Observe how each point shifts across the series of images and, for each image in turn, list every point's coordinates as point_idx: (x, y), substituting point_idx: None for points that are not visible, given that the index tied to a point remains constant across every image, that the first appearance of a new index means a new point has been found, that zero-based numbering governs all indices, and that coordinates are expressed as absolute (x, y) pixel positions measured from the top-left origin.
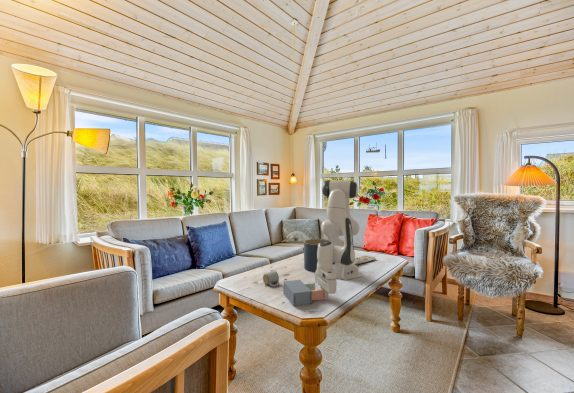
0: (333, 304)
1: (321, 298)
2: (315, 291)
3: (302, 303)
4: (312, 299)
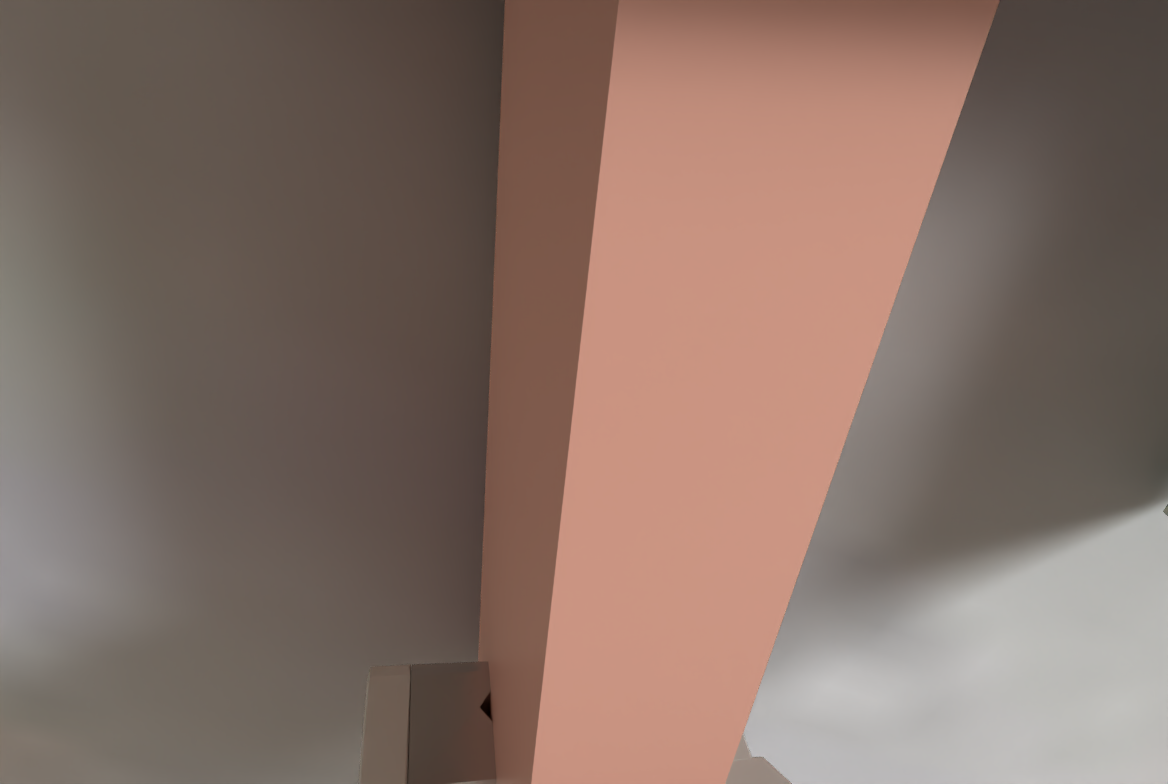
0: (11, 672)
1: (487, 507)
2: (551, 540)
3: None
4: (511, 59)
